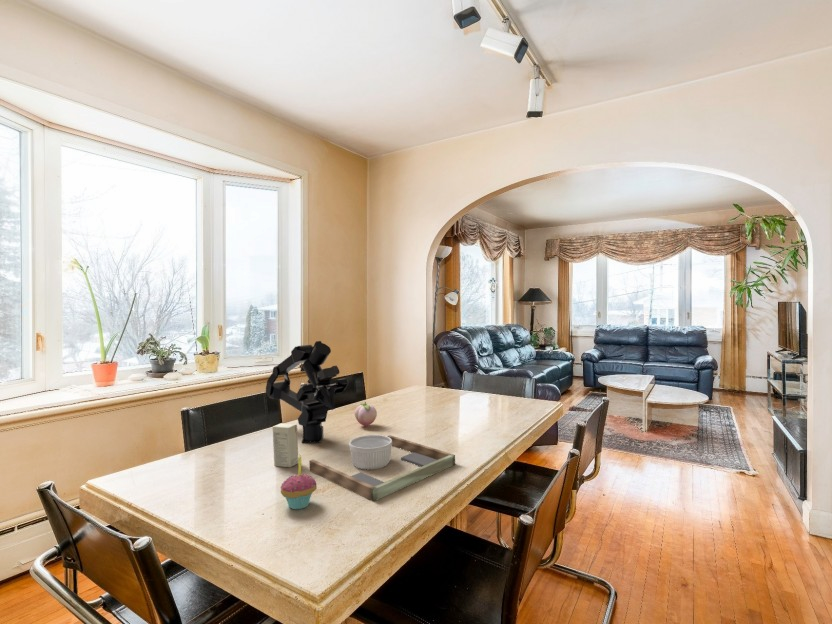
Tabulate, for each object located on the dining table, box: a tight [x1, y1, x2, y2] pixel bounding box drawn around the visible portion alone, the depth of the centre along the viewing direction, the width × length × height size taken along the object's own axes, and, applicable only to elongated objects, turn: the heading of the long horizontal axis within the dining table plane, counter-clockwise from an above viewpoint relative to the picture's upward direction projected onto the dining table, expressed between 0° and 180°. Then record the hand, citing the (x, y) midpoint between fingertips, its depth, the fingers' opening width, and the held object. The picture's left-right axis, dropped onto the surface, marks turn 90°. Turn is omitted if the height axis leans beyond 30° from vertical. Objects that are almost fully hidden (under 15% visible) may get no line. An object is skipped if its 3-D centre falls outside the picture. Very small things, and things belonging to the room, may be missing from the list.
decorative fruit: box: [354, 401, 378, 428], centre depth 170 cm, size 9×8×10 cm
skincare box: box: [272, 422, 299, 468], centre depth 131 cm, size 6×4×12 cm
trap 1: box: [350, 471, 385, 486], centre depth 116 cm, size 10×6×1 cm, turn 46°
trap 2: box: [400, 452, 436, 468], centre depth 132 cm, size 10×6×1 cm, turn 46°
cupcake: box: [280, 456, 317, 510], centre depth 104 cm, size 9×8×12 cm
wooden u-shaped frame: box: [309, 434, 456, 502], centre depth 127 cm, size 29×32×3 cm
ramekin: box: [348, 434, 393, 471], centre depth 131 cm, size 13×13×7 cm
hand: (333, 408), depth 144 cm, fingers closed
